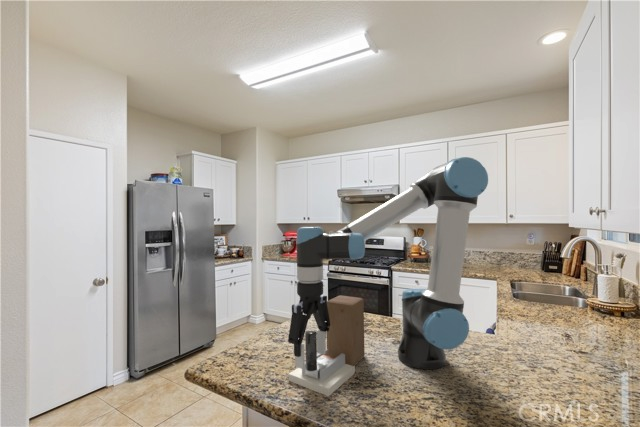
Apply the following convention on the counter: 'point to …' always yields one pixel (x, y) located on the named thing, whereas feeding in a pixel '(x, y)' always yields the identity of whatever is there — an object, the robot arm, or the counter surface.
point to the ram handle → (314, 356)
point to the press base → (325, 376)
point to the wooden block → (346, 328)
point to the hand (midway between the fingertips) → (311, 359)
